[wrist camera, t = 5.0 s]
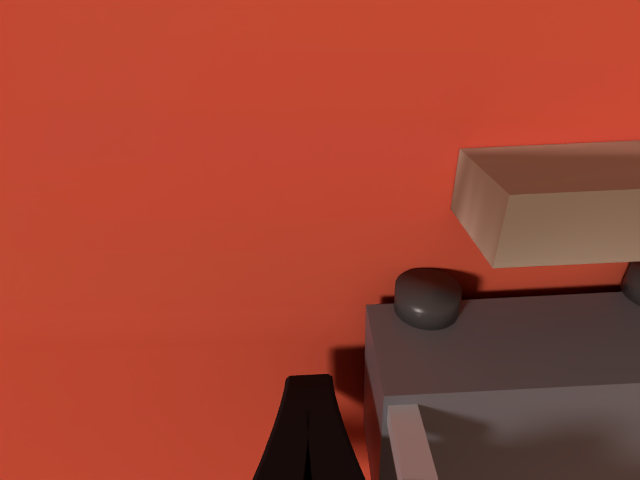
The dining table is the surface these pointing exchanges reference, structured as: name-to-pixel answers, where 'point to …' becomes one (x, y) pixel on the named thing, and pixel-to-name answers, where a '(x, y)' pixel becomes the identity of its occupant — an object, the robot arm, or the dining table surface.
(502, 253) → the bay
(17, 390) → the dining table surface
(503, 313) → the grey box with knobs
